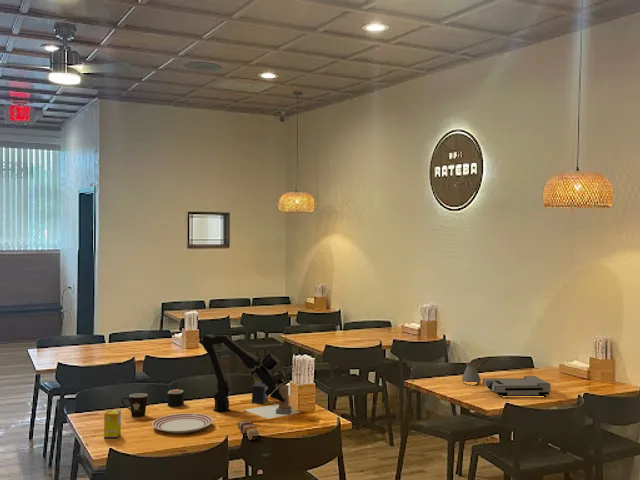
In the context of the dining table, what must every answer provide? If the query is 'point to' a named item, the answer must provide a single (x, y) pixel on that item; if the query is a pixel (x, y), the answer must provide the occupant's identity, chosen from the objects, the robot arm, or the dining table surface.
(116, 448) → the dining table surface
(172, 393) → the sushi
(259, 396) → the small box
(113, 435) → the supplement box
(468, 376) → the coffee pot
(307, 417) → the dining table surface
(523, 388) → the game console
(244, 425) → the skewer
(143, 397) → the coffee mug
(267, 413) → the board
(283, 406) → the block
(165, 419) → the dinner plate
